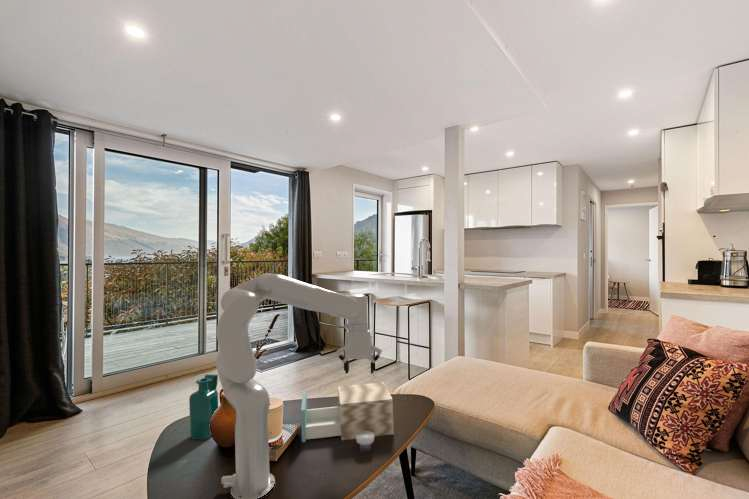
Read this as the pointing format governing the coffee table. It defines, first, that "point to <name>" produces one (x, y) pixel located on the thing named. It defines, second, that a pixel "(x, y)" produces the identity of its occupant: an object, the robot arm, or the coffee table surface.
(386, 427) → the cabinet
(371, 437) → the disc
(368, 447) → the stand
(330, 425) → the drawer
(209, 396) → the teal bottle vase
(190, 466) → the coffee table surface
